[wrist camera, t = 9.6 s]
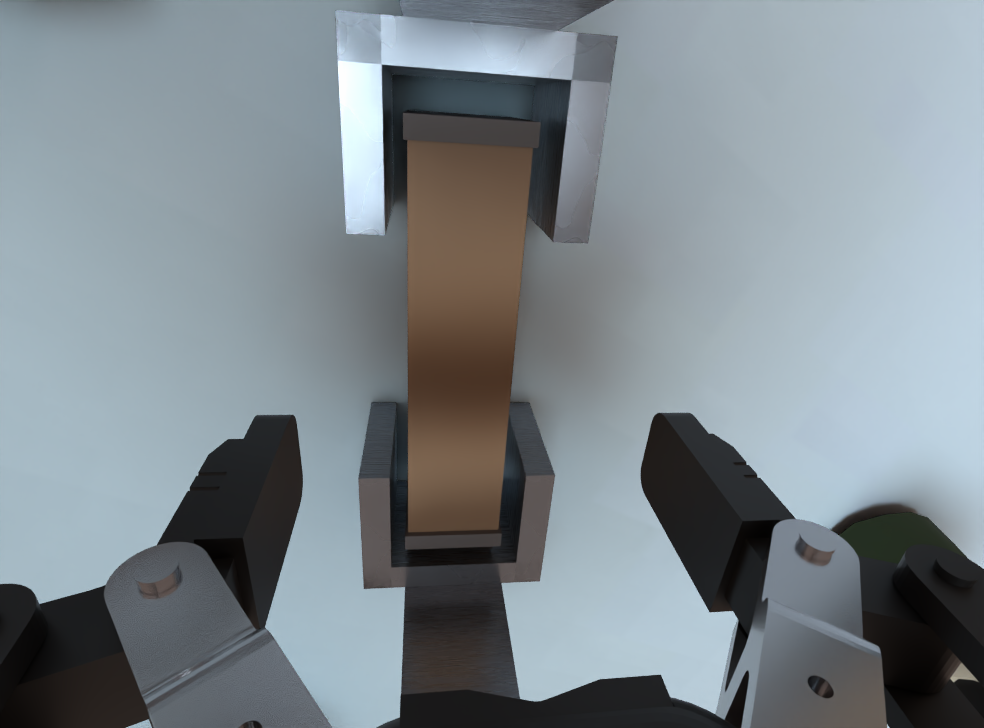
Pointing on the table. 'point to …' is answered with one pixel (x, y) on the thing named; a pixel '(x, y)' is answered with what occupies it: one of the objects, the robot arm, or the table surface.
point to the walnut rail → (462, 317)
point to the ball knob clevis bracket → (562, 217)
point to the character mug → (889, 544)
